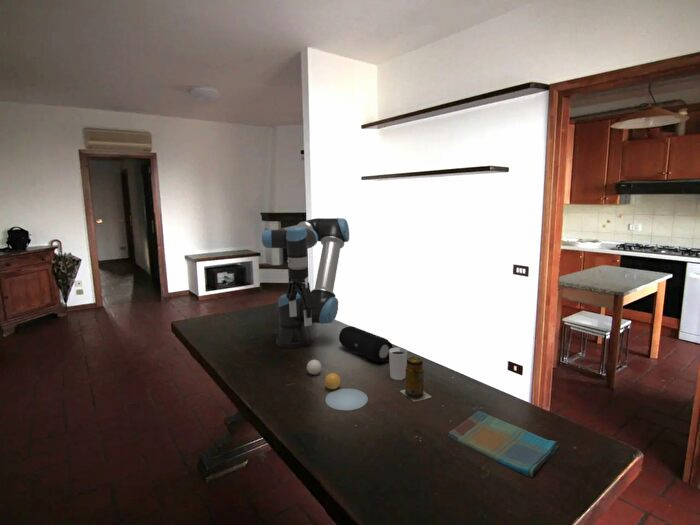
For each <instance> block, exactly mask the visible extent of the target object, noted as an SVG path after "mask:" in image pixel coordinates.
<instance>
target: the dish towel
mask: <svg viewBox="0 0 700 525" xmlns="http://www.w3.org/2000/svg"><path fill="white" fill-rule="evenodd" d="M447 437H448V438H449V439H451V440H452V441H455V442H456V443H458V444H460V445H463V446H464V447H467V448H468V449H469V448H470V449H471V450H473V451H474V452H477V453H479V454H481V455H482V456H483V455H484V456H485V457H487V458H489V459H491V460H492V461H494V462H497V463H498V464H500V465H502V466H505V467H507V468H509V469H511V470H513V471H515V472H517V473H520V474H522V475H524V476H526V477H530V478H534V475H535V474H536V472H537V471H538V470H540V468H541V467H542V465H543V464H544V463H546V462H547V461H548V460H549V459H550V458H551V457H552V456H553V455H555V453H556V452H557V451H558V448H560V446H559V445H557V440H556V441H555V440H549V439H546V438H544V437H542V436H540V435H537V434H534V433H532V432H530V431H528V430H526V429H524V428H522V427H519V426H516V425H514V424H511V423H509V422H506V421H505V420H501V419H499V418H497V417H494V416H492V415H490V414H487V413H485V412H483V411H482V410H477V411H476V412H474V413H473V414H472V415H470V416H469V417H468V418H466V419H465V420H464V421H462V422H461V423H460V424H459V425H457V426H456V427H455V428H453V429H452V430H450V431H448V434H447Z"/></svg>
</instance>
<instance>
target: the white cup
mask: <svg viewBox="0 0 700 525" xmlns="http://www.w3.org/2000/svg"><path fill="white" fill-rule="evenodd" d="M407 359H408V349H406V348H404V347H397V346H396V347H393V348H391V349H390V350H389V360H388V362H389V375H390V376H389V377H390V378H391V379H392V380H394V381H395V380H396V381H402V380H404V379H406V378H405V377H406V366H407Z"/></svg>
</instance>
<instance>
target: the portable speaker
mask: <svg viewBox="0 0 700 525" xmlns="http://www.w3.org/2000/svg"><path fill="white" fill-rule="evenodd" d="M338 341H339V343H340V344H341V345H342V347H343V348H345V349H347V350H349V351H352V352H354V353H356V354H359V355H360V356H363V357H365V358H367V359H369V360H371V361H374V362H376V363H387V362H389V350H390V349H391V348H394V347H393V344H392V343H391V342H390V340H388V339H387V338H385V337H382V336H379V335H377V334H375V333H371V332H368V331H366V330H363V329H361V328H359V327H356V326H352V325H351V326H350V325H349V326H345V327H343V328H342V329H341V330H340V332H339V334H338Z"/></svg>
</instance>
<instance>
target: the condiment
mask: <svg viewBox="0 0 700 525" xmlns="http://www.w3.org/2000/svg"><path fill="white" fill-rule="evenodd" d="M424 370H425V368H424V366H423V359H422V358H420V357H417V356H416V357H415V356H410V357H409V358H408V357H407V363H406V377H405V388H404V389H401V390H399V392H400V393H402V394H403V395H404V396H405V397H407V398H408V399H409V400H411V401H412V402H414V403H415V402H419V401H423V400H426V399H429V398H430V399H431V398H432V395H430V394H429V393H427V392H426V391H424V387H425V386H424V383H425V382H424V381H425V380H424V378H425V371H424Z"/></svg>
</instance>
